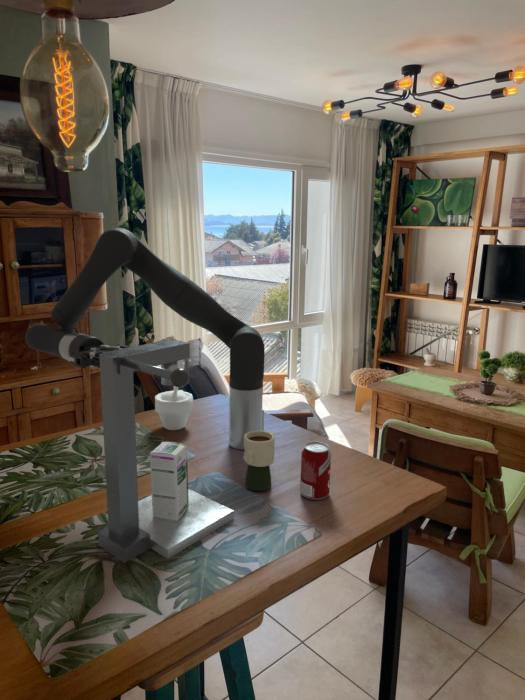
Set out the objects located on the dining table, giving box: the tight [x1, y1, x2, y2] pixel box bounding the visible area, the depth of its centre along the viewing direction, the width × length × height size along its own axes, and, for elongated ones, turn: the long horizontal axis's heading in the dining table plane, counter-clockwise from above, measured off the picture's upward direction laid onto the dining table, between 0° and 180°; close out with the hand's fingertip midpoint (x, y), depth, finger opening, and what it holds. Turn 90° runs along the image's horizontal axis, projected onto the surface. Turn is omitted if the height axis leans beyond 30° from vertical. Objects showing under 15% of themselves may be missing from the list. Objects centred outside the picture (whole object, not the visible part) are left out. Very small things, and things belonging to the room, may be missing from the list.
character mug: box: [243, 430, 276, 491], centre depth 122 cm, size 11×7×13 cm, turn 156°
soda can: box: [299, 441, 332, 501], centre depth 119 cm, size 7×7×12 cm
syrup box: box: [149, 441, 189, 521], centre depth 106 cm, size 6×6×14 cm
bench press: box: [97, 338, 235, 564], centre depth 99 cm, size 24×27×38 cm
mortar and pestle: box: [154, 358, 194, 431], centre depth 156 cm, size 13×12×25 cm
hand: (121, 360), depth 117 cm, fingers open, 8 cm apart
